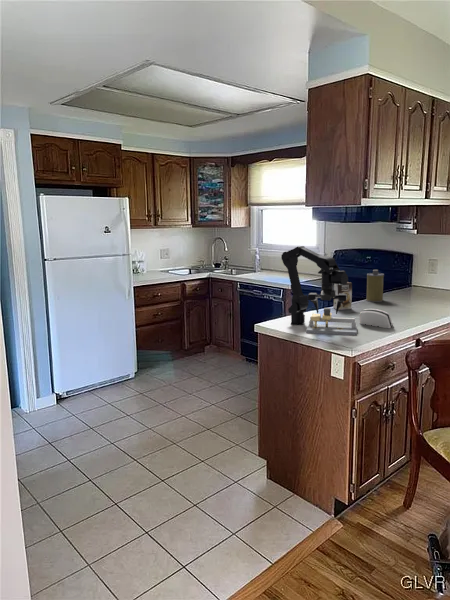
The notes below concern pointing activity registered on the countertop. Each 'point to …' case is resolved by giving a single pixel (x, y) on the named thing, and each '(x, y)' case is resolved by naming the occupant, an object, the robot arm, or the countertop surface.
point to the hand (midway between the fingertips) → (327, 313)
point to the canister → (375, 286)
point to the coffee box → (346, 290)
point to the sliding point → (326, 315)
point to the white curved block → (375, 318)
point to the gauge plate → (331, 326)
